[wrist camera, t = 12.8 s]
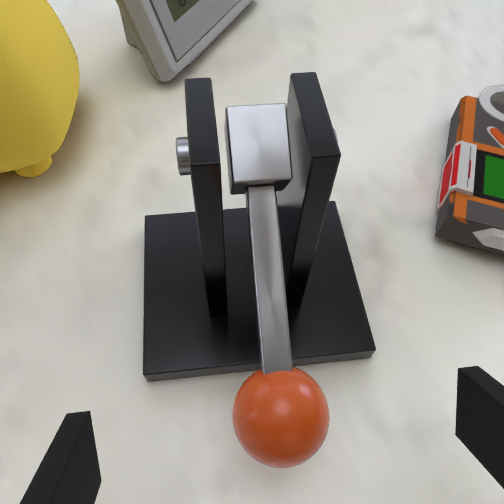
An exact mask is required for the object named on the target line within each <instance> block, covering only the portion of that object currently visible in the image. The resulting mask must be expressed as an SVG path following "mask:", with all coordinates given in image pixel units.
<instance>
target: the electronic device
mask: <svg viewBox="0 0 504 504" xmlns="http://www.w3.org/2000/svg"><path fill="white" fill-rule="evenodd" d="M437 213H438V220H437V227H436V234H435V237H439V238H443V239H446V240H450V241H453V242H457V243H461V244H464V245H468V246H471V247H475V248H479V249H482V250H486V251H489V252H493V253H496V254H500V255H504V85H494V86H489V87H487V88H485V89H484V90H482V92H481V93H480V95H479V97H478V98H475V97H471V96H465V97H463V98H461V100H460V102H459V104H458V106H457V108H456V110H455V112H454V114H453V116H452V118H451V124H450V131H449V139H448V146H447V153H446V161H445V164H444V166H443V167H442V175H441V182H440V189H439V197H438V204H437Z"/></svg>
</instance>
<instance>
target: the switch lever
mask: <svg viewBox="0 0 504 504" xmlns="http://www.w3.org/2000/svg"><path fill="white" fill-rule="evenodd" d="M224 129H225V141H226V152H227V163H228V174H229V186H230V193H231V194H232V195H234V194H245V197H246V208H247V219H248V230H249V242H250V253H251V264H252V275H253V286H254V297H255V308H256V320H257V331H258V342H259V353H260V364H261V370H258V371H257V372H255V373H254V374H252V375H251V376H250V377H249V378H248V379H247V380H246V381H245V382H244V383H243V385H242V386H241V387H240V389H239V391H238V393H237V395H236V398H235V401H234V405H233V425H234V429H235V433H236V436H237V438H238V440H239V442H240V444H241V445H242V447H243V448H244V449H245V450H246V452H247V453H248V454H249V455H250V456H251V457H253V458H254V459H256V460H257V461H259V462H261V463H263V464H265V465H268V466H271V467H277V468H287V467H293V466H296V465H299V464H301V463H303V462H305V461H307V460H308V459H310V458H311V457H312V456H313V455H314V454H315V453H316V452H317V451H318V450H319V448H320V447H321V445H322V444H323V442H324V440H325V437H326V434H327V431H328V426H329V409H328V404H327V400H326V398H325V395H324V393H323V391H322V390H321V388H320V386H319V385H318V384H317V383H316V381H315V380H314V379H313V378H312V377H310V376H309V375H308V374H306V373H305V372H303V371H301V370H300V369H297V368H294V367H292V357H291V346H290V336H289V325H288V314H287V303H286V292H285V282H284V271H283V260H282V249H281V238H280V228H279V217H278V206H277V195H276V191H283V190H284V189H285V187H286V186H287V185H288V184H289V182H290V181H291V180H292V179H293V172H292V161H291V150H290V140H289V129H288V119H287V108H286V104H285V103H276V104H259V105H243V106H227V107H226V111H225V128H224Z"/></svg>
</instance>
